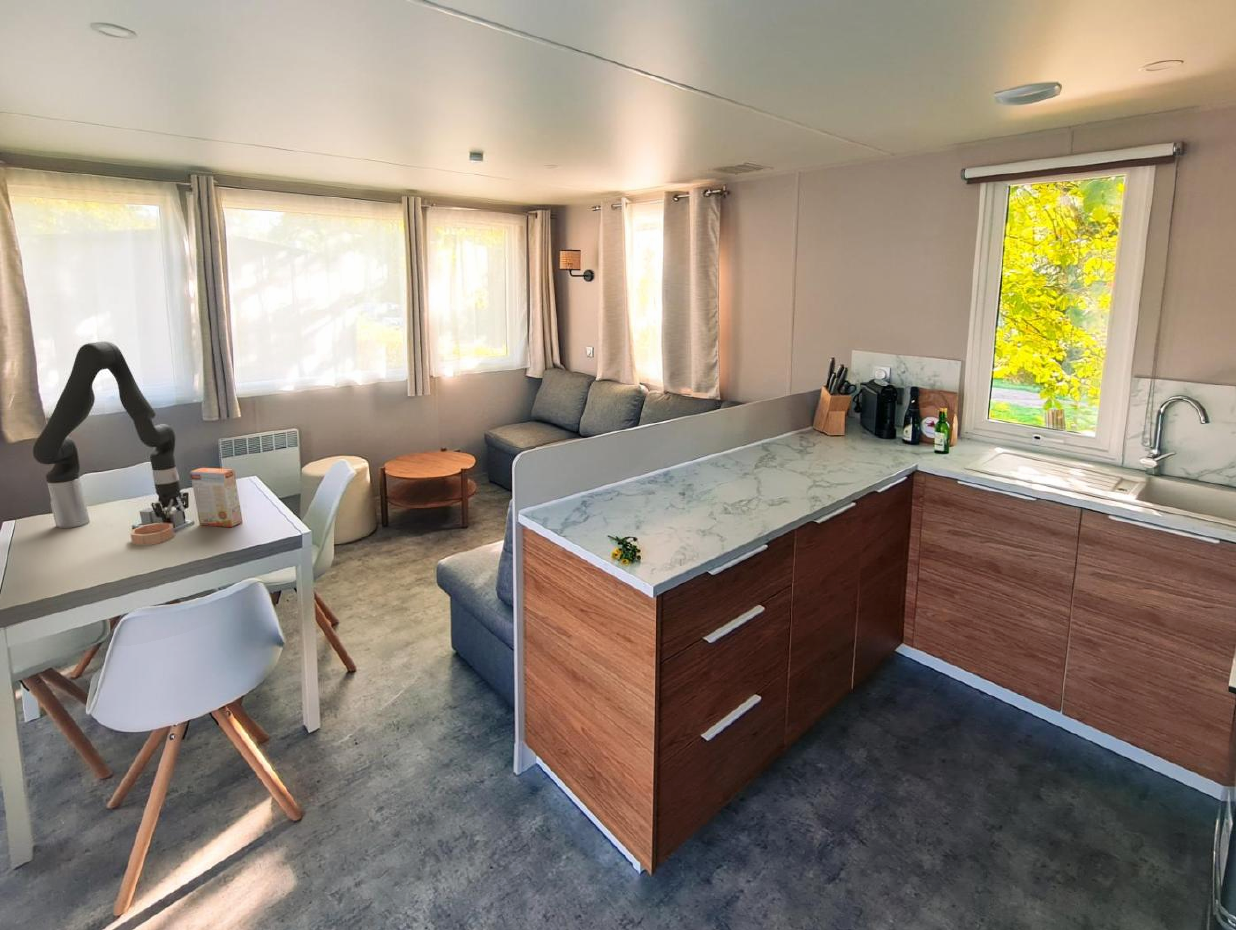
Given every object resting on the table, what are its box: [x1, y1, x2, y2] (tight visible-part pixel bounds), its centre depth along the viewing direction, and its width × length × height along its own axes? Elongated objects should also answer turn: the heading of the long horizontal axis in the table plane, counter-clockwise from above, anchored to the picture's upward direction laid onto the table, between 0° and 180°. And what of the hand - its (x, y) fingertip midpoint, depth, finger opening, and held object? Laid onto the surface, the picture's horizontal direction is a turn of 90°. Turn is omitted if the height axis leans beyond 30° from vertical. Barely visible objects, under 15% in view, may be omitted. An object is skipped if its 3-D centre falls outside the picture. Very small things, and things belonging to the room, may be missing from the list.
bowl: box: [130, 522, 175, 546], centre depth 229 cm, size 12×12×4 cm
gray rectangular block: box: [151, 511, 166, 523], centre depth 240 cm, size 4×4×6 cm
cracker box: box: [189, 467, 243, 528], centre depth 241 cm, size 14×6×21 cm, turn 78°
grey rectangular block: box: [165, 509, 184, 528], centre depth 239 cm, size 4×4×6 cm
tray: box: [131, 519, 195, 533], centre depth 241 cm, size 18×9×1 cm, turn 78°
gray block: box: [139, 507, 154, 526], centre depth 241 cm, size 4×4×6 cm
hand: (175, 523), depth 240 cm, fingers open, 5 cm apart
